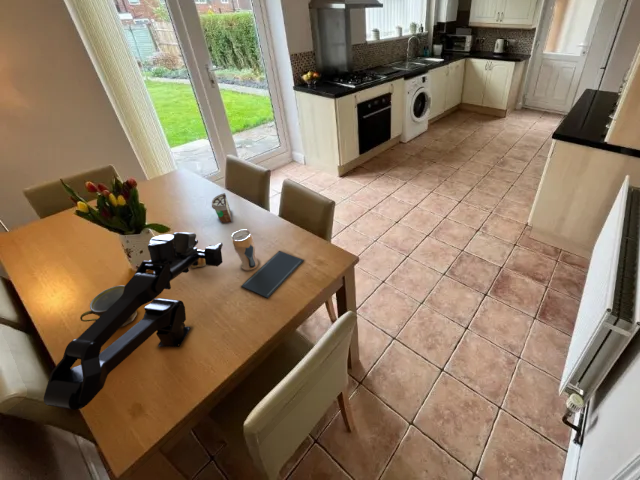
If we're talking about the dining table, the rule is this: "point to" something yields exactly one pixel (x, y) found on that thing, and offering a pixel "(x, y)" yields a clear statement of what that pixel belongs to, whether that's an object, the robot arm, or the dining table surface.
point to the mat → (272, 274)
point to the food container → (222, 208)
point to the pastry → (200, 263)
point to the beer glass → (245, 249)
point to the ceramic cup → (106, 303)
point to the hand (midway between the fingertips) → (209, 242)
